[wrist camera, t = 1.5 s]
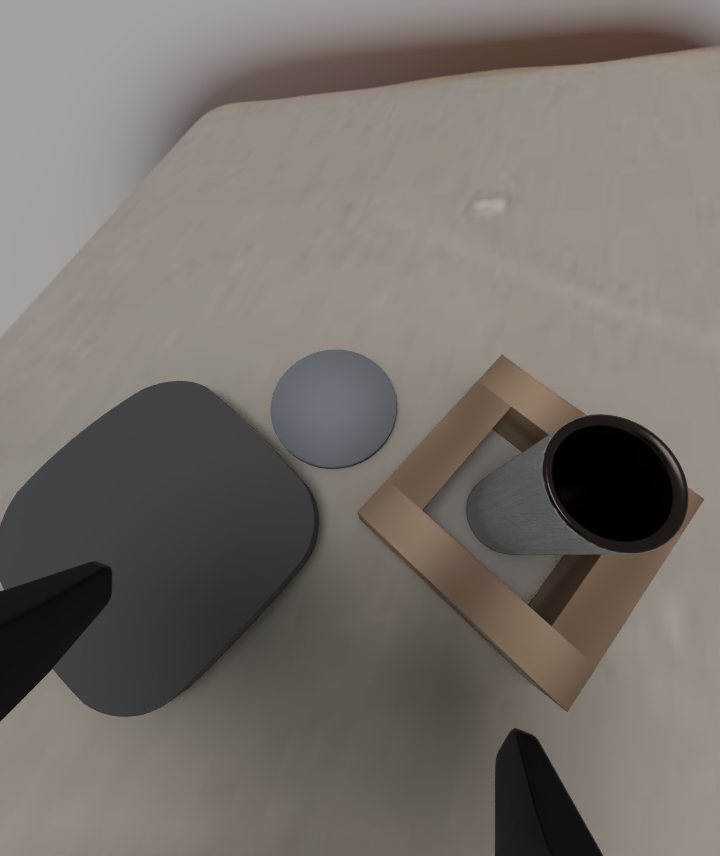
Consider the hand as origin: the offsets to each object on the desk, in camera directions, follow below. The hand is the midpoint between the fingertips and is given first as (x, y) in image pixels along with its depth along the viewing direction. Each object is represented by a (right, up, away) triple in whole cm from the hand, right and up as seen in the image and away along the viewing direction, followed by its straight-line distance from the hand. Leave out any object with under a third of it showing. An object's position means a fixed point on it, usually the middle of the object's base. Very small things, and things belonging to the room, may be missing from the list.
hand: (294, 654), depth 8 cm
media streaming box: (-10, -1, +15) cm, 18 cm away
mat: (0, +6, +16) cm, 17 cm away
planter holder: (+10, 0, +14) cm, 17 cm away
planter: (+10, 0, +14) cm, 17 cm away
